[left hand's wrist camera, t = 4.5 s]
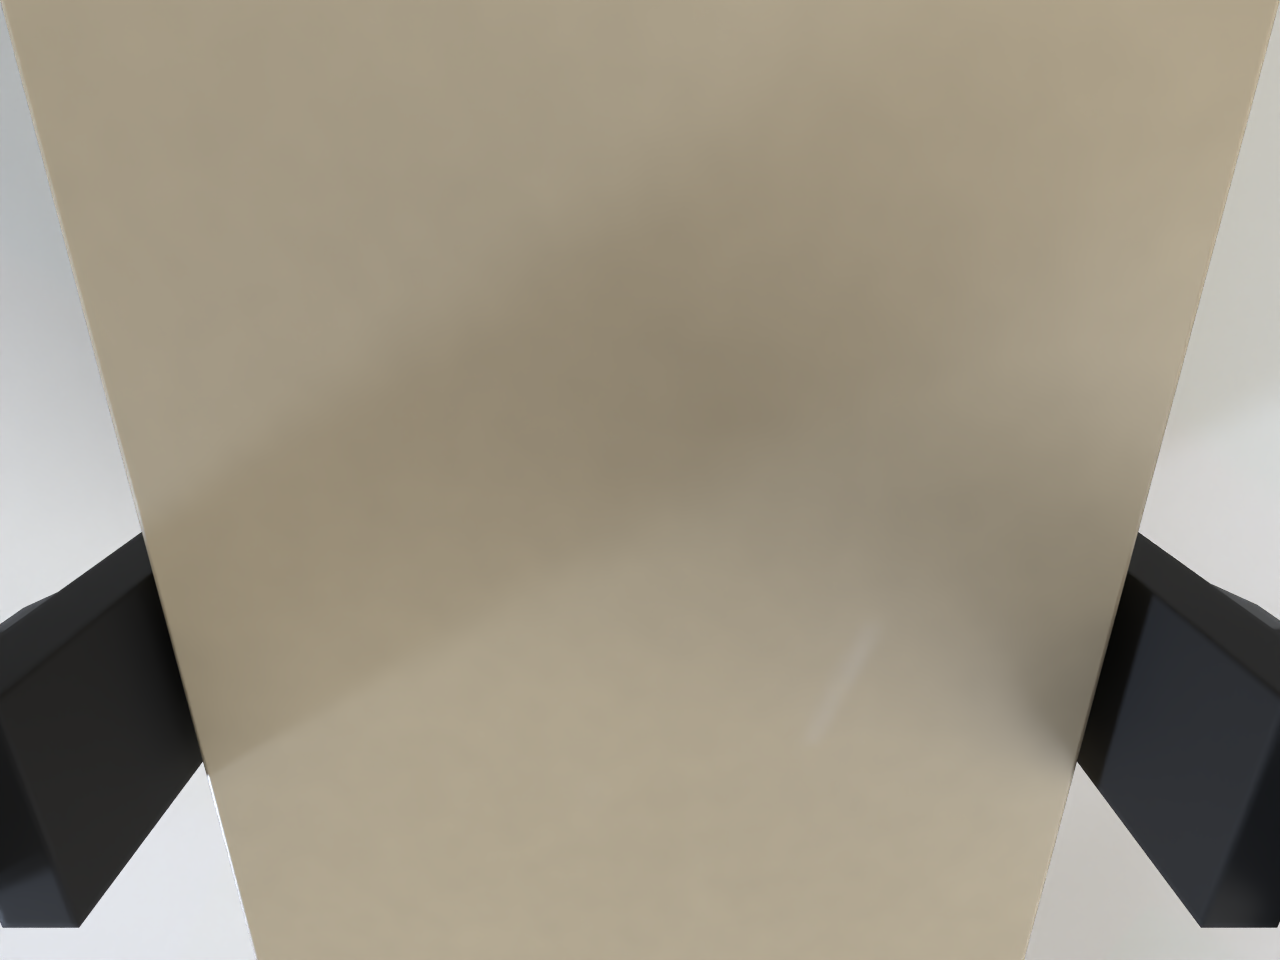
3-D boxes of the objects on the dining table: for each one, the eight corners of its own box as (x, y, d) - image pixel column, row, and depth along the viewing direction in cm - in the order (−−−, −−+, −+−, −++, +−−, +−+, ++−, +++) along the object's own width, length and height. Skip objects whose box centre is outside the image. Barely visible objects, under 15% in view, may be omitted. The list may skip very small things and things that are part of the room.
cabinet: (314, -390, 12) (-482, -1773, 4) (965, -390, 12) (1761, -1773, 4) (430, 610, 19) (256, 972, 10) (849, 611, 19) (1023, 972, 10)
